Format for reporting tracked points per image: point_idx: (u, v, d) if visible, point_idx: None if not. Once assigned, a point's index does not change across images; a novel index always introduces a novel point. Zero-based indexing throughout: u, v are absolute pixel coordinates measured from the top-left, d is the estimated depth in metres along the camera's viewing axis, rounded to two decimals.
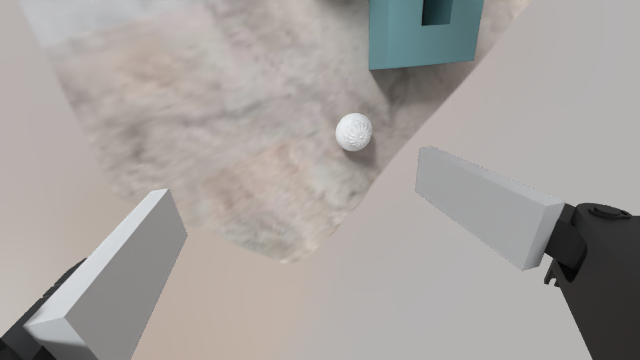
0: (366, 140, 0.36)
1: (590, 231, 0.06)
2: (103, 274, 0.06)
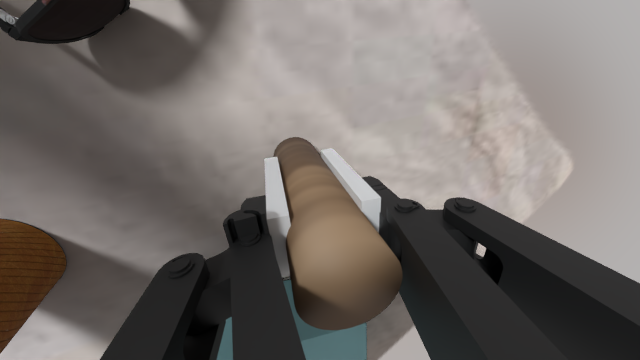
0: None
1: (398, 229, 0.07)
2: (285, 200, 0.09)
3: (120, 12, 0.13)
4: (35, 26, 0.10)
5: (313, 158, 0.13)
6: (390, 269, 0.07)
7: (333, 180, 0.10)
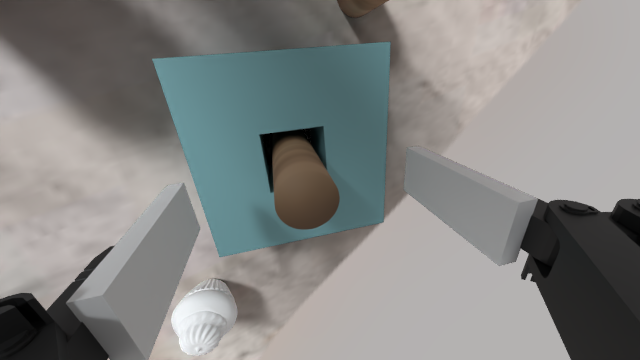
0: (209, 349, 0.22)
1: (562, 227, 0.07)
2: (132, 259, 0.07)
3: None
4: None
5: (297, 135, 0.17)
6: (330, 189, 0.11)
7: (307, 147, 0.15)
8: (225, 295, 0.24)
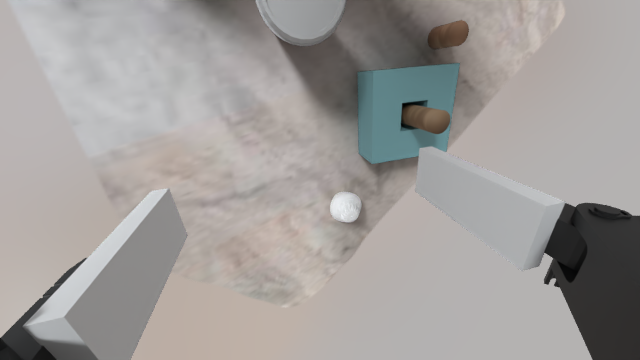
0: (355, 218, 0.42)
1: (589, 231, 0.06)
2: (103, 274, 0.06)
3: None
4: None
5: None
6: (448, 117, 0.32)
7: None
8: None
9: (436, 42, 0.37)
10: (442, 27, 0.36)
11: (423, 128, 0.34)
